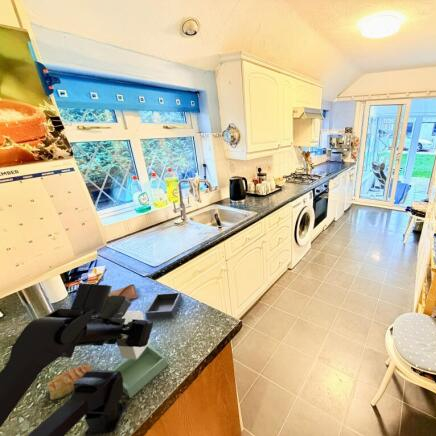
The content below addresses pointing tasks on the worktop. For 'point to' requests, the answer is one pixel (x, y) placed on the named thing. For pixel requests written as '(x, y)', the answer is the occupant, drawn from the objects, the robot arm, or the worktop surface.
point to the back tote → (163, 305)
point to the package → (125, 350)
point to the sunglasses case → (125, 292)
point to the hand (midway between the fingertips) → (135, 330)
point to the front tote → (140, 370)
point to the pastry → (66, 381)
